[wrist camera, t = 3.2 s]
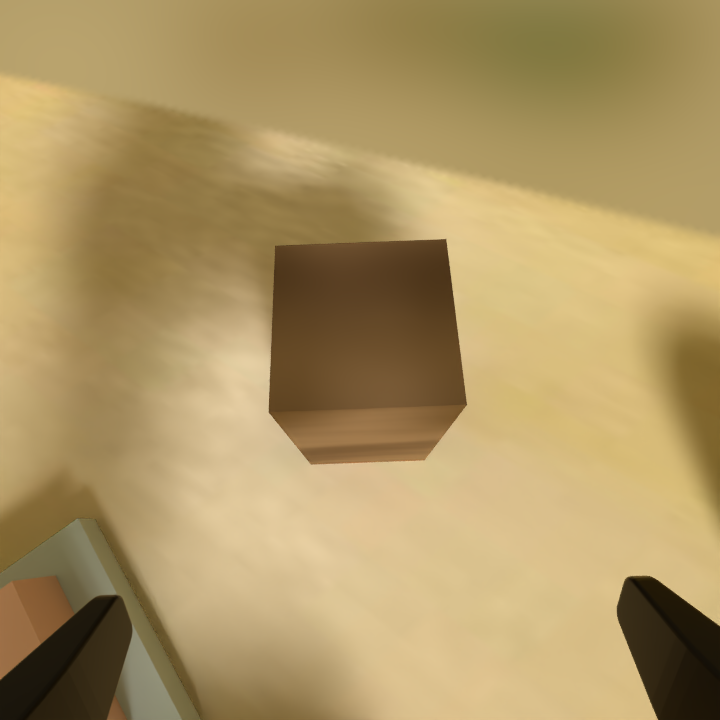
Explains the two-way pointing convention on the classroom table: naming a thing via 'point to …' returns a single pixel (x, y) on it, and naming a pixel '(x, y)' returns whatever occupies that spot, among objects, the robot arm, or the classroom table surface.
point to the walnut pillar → (365, 350)
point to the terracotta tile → (34, 622)
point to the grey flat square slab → (105, 577)
